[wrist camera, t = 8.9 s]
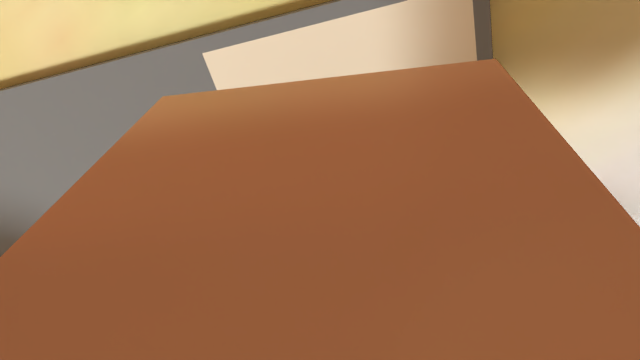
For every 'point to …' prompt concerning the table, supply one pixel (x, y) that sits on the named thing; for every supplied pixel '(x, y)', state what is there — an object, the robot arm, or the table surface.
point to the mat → (211, 83)
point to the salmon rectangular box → (332, 232)
